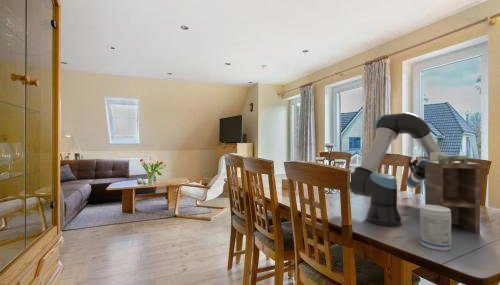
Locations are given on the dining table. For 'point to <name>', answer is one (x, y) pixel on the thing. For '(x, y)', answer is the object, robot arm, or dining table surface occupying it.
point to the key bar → (435, 157)
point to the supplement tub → (435, 227)
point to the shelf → (455, 189)
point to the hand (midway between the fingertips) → (435, 158)
